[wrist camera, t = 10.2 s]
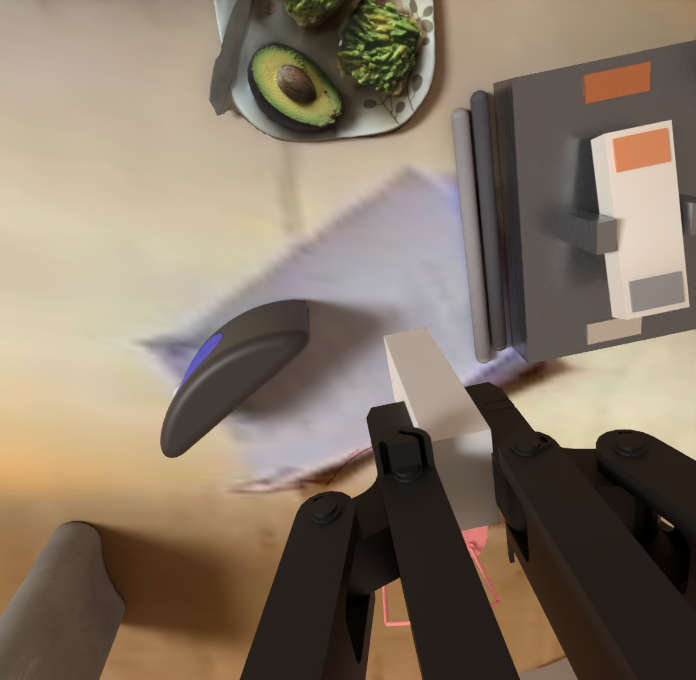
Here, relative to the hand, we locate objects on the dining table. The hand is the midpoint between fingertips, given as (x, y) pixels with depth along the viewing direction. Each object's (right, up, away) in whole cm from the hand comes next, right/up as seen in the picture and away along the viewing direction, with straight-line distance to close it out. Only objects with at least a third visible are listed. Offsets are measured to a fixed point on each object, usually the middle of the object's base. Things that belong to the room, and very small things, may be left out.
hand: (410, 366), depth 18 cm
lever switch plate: (+20, +13, +28) cm, 37 cm away
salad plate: (-4, +25, +22) cm, 34 cm away
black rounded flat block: (-12, 0, +31) cm, 34 cm away
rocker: (+20, +10, +21) cm, 31 cm away
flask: (-32, -25, +40) cm, 57 cm away
